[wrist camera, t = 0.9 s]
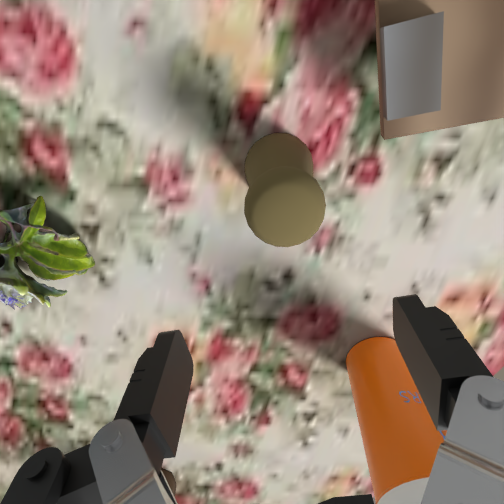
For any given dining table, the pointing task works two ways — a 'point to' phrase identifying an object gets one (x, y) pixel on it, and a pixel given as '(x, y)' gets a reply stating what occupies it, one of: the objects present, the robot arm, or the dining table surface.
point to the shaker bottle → (392, 422)
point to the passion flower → (37, 256)
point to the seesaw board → (457, 63)
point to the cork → (282, 191)
